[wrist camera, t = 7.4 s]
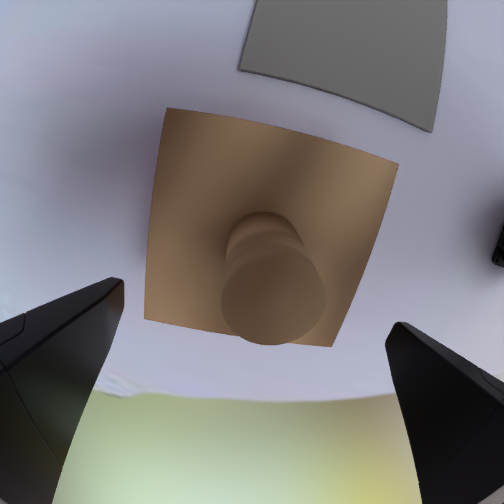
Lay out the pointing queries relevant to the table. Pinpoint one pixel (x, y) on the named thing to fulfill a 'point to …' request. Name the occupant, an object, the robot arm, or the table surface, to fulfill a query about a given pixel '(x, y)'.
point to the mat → (355, 51)
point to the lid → (259, 229)
